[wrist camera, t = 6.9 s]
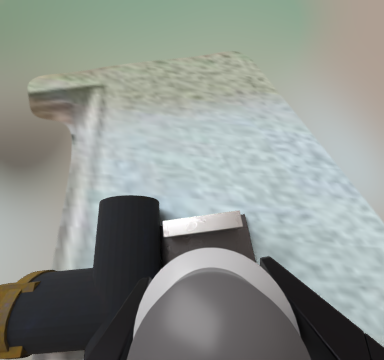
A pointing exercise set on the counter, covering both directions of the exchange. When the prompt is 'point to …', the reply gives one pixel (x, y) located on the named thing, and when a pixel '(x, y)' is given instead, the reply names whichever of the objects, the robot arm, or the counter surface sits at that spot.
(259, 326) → the grey domed cylinder
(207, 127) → the counter surface
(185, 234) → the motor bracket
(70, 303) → the pipe connector
